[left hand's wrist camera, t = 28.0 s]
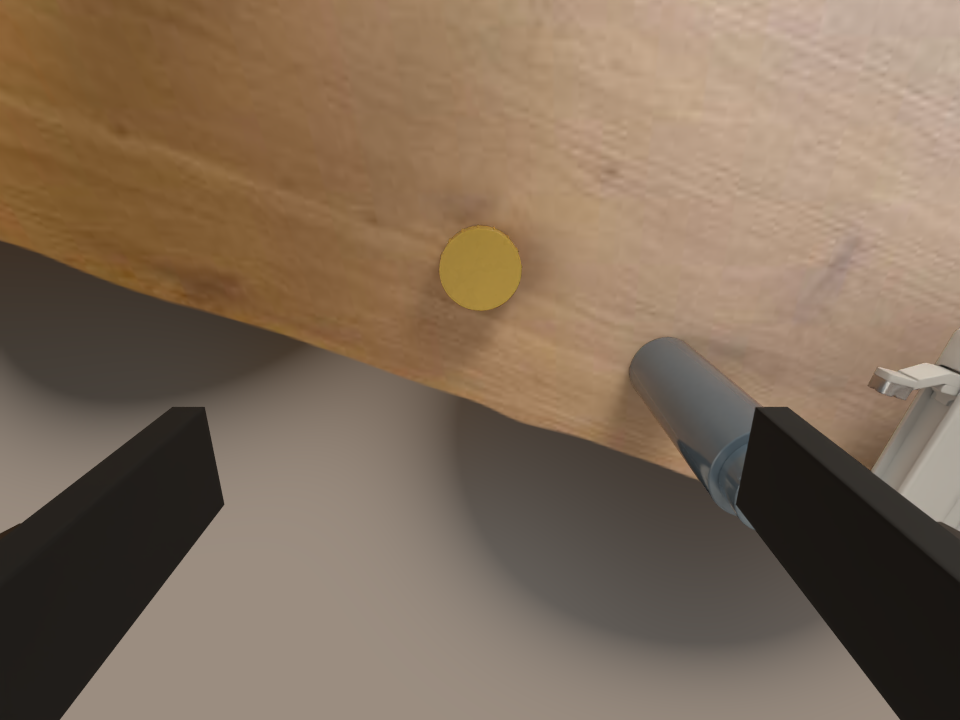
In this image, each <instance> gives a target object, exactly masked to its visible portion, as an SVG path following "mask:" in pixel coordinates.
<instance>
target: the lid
mask: <svg viewBox="0 0 960 720" xmlns="http://www.w3.org/2000/svg"><path fill="white" fill-rule="evenodd" d="M518 252H519V251H518V249H517V248H515V246H514V244H513V243H512V241H511V240H510V239H509V237H508V235H505V234H504V233H502V232H501V231H499V230H497V229H495V227H493V228H492V227H488V226H479V225H477V226H472V227H469V228H466V229H462V230H461V231H460V232H458V233H457V234H456V235H454V236H453V237H452V238H450V239H449V241H448V244H447V245H446V247H445V249H444V251H443V252H442V254H441V256H440V257H441V260H440V265H439V274H440V279H441V283H442V286H443V288H444V290H445V291H446V293H447V294H448V296H449V297H450V298H451V299H452V300H453V301H455V302H456V303H457V304H459V305H460V306H462V307H465V308H467V309H471V310H478V311H483V310H490V309H493V308H496V307H498V306H500V305H502V304H503V303H505V302H506V301H507V300H509V298H510V297H511V296H512V295H513V294H514V292H515V291H516V289H517V287H518V285H519V283H520V278H521V268H522V265H521V261H520V257H519V254H518Z"/></svg>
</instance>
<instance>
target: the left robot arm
mask: <svg viewBox="0 0 960 720" xmlns="http://www.w3.org/2000/svg"><path fill="white" fill-rule="evenodd" d="M223 505H224V500H223V496H222V491H221V486H220V481H219V476H218V471H217V466H216V461H215V456H214V451H213V446H212V441H211V436H210V431H209V426H208V421H207V417H206V411H205V407H172V408H171V409H169V410H168V411H167V412H165V413H164V414H163V415H161V416H160V417H159V418H158V419H156V420H155V421H154V422H152V423H151V424H150V425H149V426H147V427H146V428H145V429H143V430H142V431H141V432H139V433H138V434H137V435H136V436H134V437H133V438H132V439H130V440H129V441H128V442H126V443H125V444H124V445H123V446H121V447H120V448H119V449H117V450H116V451H115V452H113V453H112V454H111V455H110V456H108V457H107V458H106V459H104V460H103V461H102V462H100V463H99V464H98V465H97V466H95V467H94V468H93V469H91V470H90V471H89V472H88V473H86V474H85V475H84V476H82V477H81V478H80V479H78V480H77V481H76V482H75V483H73V484H72V485H71V486H69V487H68V488H67V489H65V490H64V491H63V492H62V493H60V494H59V495H58V496H56V497H55V498H54V499H53V500H51V501H50V502H49V503H47V504H46V505H45V506H43V507H42V508H41V509H40V510H38V511H37V512H36V513H34V514H33V515H32V516H30V517H29V518H28V519H26V520H25V521H24V522H23V523H21V524H18V525H16V526H14V527H12V528H10V529H8V530H6V531H4V532H2V533H0V720H60V719H61V717H62V716H63V715H64V713H65V712H66V711H67V710H68V708H69V707H70V706H71V704H72V703H73V702H74V700H75V699H76V698H77V696H78V695H79V694H80V693H81V691H82V690H83V689H84V687H85V686H86V685H87V683H88V682H89V681H90V679H91V678H92V677H93V676H94V674H95V673H96V672H97V670H98V669H99V668H100V666H101V665H102V664H103V662H104V661H105V660H106V658H107V657H108V656H109V655H110V653H111V652H112V651H113V649H114V648H115V647H116V645H117V644H118V643H119V642H120V640H121V639H122V638H123V636H124V635H125V634H126V632H127V631H128V630H129V628H130V627H131V626H132V625H133V623H134V622H135V621H136V619H137V618H138V617H139V615H140V614H141V613H142V611H143V610H144V609H145V607H146V606H147V605H148V604H149V602H150V601H151V600H152V598H153V597H154V596H155V594H156V593H157V592H158V591H159V589H160V588H161V587H162V585H163V584H164V583H165V581H166V580H167V579H168V577H169V576H170V575H171V574H172V572H173V571H174V570H175V568H176V567H177V566H178V564H179V563H180V562H181V560H182V559H183V558H184V557H185V555H186V554H187V553H188V551H189V550H190V549H191V547H192V546H193V545H194V543H195V542H196V541H197V540H198V538H199V537H200V536H201V534H202V533H203V532H204V530H205V529H206V528H207V526H208V525H209V524H210V523H211V521H212V520H213V519H214V517H215V516H216V515H217V513H218V512H219V511H220V509H221V508H222V507H223ZM736 506H737V507H738V508H739V509H740V511H741V512H742V513H743V515H744V516H745V517H746V519H747V520H748V521H749V523H750V524H751V525H752V526H753V528H754V529H755V530H756V532H757V533H758V534H759V536H760V537H761V538H762V540H763V541H764V542H765V543H766V545H767V546H768V547H769V549H770V550H771V551H772V553H773V554H774V555H775V557H776V558H777V559H778V560H779V562H780V563H781V564H782V566H783V567H784V568H785V570H786V571H787V572H788V574H789V575H790V576H791V577H792V579H793V580H794V581H795V583H796V584H797V585H798V587H799V588H800V589H801V591H802V592H803V593H804V594H805V596H806V597H807V598H808V600H809V601H810V602H811V604H812V605H813V606H814V607H815V609H816V610H817V611H818V613H819V614H820V615H821V617H822V618H823V619H824V621H825V622H826V623H827V625H828V626H829V627H830V628H831V630H832V631H833V632H834V634H835V635H836V636H837V638H838V639H839V640H840V642H841V643H842V644H843V645H844V647H845V648H846V649H847V651H848V652H849V653H850V655H851V656H852V657H853V659H854V660H855V661H856V662H857V664H858V665H859V666H860V668H861V669H862V670H863V672H864V673H865V674H866V676H867V677H868V678H869V679H870V681H871V682H872V683H873V685H874V686H875V687H876V689H877V690H878V691H879V693H880V694H881V695H882V696H883V698H884V699H885V700H886V702H887V703H888V704H889V706H890V707H891V708H892V710H893V711H894V712H895V713H896V715H897V716H898V717H899V719H900V720H960V531H958V530H956V529H954V528H953V527H951V526H949V525H947V524H945V523H943V522H936V521H935V520H934V519H932V518H931V517H930V516H928V515H927V514H926V513H924V512H923V511H922V510H921V509H919V508H918V507H917V506H915V505H914V504H913V503H911V502H910V501H909V500H908V499H906V498H905V497H904V496H902V495H901V494H900V493H898V492H897V491H896V490H895V489H893V488H892V487H891V486H889V485H888V484H887V483H885V482H884V481H883V480H882V479H880V478H879V477H878V476H876V475H875V474H874V473H873V472H871V471H870V470H869V469H867V468H866V467H865V466H863V465H862V464H861V463H860V462H858V461H857V460H856V459H854V458H853V457H852V456H850V455H849V454H848V453H847V452H845V451H844V450H843V449H841V448H840V447H839V446H837V445H836V444H835V443H834V442H832V441H831V440H830V439H828V438H827V437H826V436H824V435H823V434H822V433H821V432H819V431H818V430H817V429H815V428H814V427H813V426H812V425H810V424H809V423H808V422H806V421H805V420H804V419H802V418H801V417H800V416H799V415H797V414H796V413H795V412H793V411H792V410H791V409H789V408H788V407H755V411H754V416H753V421H752V426H751V431H750V436H749V441H748V446H747V451H746V456H745V461H744V466H743V471H742V476H741V481H740V486H739V491H738V496H737V500H736Z"/></svg>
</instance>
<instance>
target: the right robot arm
mask: <svg viewBox="0 0 960 720" xmlns="http://www.w3.org/2000/svg"><path fill="white" fill-rule="evenodd" d="M868 386H869V387H870V388H873V389H875V390H876V391H877V392H879V393H882V394H884V395H887V396H894V397H896V398H899V399H903V400H906V399H907V397H908V396H909V394H910V393H911V391H912V390H916V389H920V390H919V392H918V393H917V395H916V397H915V398H914V400H913V401H912V403H911V405H910V406H909V408H908V410H907V411H906V413H905V415H904V416H903V418H902V420H901V421H900V423H899V425H898V426H897V428H896V430H895V431H894V433H893V435H892V436H891V438H890V440H889V441H888V443H887V445H886V446H885V448H884V450H883V451H882V453H881V455H880V456H879V458H878V460H877V461H876V463H875V465H874V466H873V468H872V470H871V472H873V473H874V474H875V475H876V476H878V477H879V478H880V479H882V480H883V481H884V482H885V483H887V484H888V485H889V486H891V487H892V488H893V489H895V490H896V491H897V492H898V493H900V494H901V495H902V496H904V497H905V498H906V499H908V500H909V501H910V502H911V503H913V504H914V505H915V506H917V507H918V508H919V509H921V510H922V511H923V512H924V513H926V514H927V515H928V516H930V517H931V518H932V519H934V520H935V521H936V522H943V523H945V524H947V525H949V526H951V527H953V528H954V529H956V530H958V531H960V328H959V329H957V330H956V331H955V332H954V333H953V335H952V337H951V338H950V340H949V342H948V343H947V345H946V347H945V348H944V350H943V352H942V353H941V355H940V357H939V358H938V360H937V362H936V363H935V365H933V364H929V363H922V364H919V365H915V366H911V367H908V368H904V369H901V370H898V372H897V371H893V370H889V369H885V368H881V367H877V369H876V371H875V372H874V374H873V376H872V378H871V380H870V382H869V384H868Z"/></svg>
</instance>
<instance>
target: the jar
mask: <svg viewBox="0 0 960 720" xmlns="http://www.w3.org/2000/svg"><path fill="white" fill-rule="evenodd" d="M630 380H631V383H632V385H633V387H634V389H635V390H636V392H637V393H638V394H639V396H640V397H641V399H642V400H643V401H644V403H645V404H646V406H647V407H648V409H649V410H650V411H651V413H652V414H653V416H654V417H655V418H656V420H657V421H658V423H659V424H660V425H661V427H662V428H663V430H664V431H665V433H666V434H667V435H668V437H669V438H670V440H671V441H672V442H673V444H674V445H675V447H676V448H677V450H678V451H679V452H680V454H681V455H682V457H683V458H684V459H685V461H686V462H687V464H688V465H689V467H690V468H691V469H692V471H693V472H694V474H695V475H696V476H697V478H698V479H699V481H700V482H701V483H702V485H703V486H704V488H705V489H706V491H707V492H708V493H709V495H710V496H711V498H712V499H713V500H714V502H715V503H716V504H717V505H718V506H719V507H720V508H721V509H723V510H724V511H726V512H728V513H730V514H732V515H735V516H738V518H739V519H740V520H741V521H742V523H744V524H745V525H746V526H748V527H749V528H751V529H753V530H755V529H754V528H753V526H752V525H751V524H750V523H749V521H748V520H747V519H746V517H745V516H744V515H743V513H742V512H741V511H740V509H739V508H738V507H737V506H736V500H737V496H738V491H739V486H740V481H741V476H742V471H743V466H744V461H745V456H746V451H747V446H748V441H749V436H750V431H751V426H752V421H753V416H754V411H755V407H763V406H762V405H761V404H759V403H758V402H757V401H756V400H755V399H753V398H752V397H751V396H750V395H749V394H747V393H746V392H745V391H744V390H743V389H741V388H740V387H739V386H738V385H737V384H735V383H734V382H733V381H732V380H731V379H729V378H728V377H727V376H726V375H725V374H723V373H722V372H721V371H720V370H719V369H717V368H716V367H715V366H714V365H713V364H711V363H710V362H709V361H708V360H707V359H705V358H704V357H703V356H702V355H701V354H699V353H698V352H697V351H696V350H695V349H693V348H692V347H691V346H690V345H689V344H687V343H686V342H684V341H682V340H680V339H677V338H672V337H664V338H659V339H655V340H653V341H651V342H649V343H647V344H645V345H644V346H643V347H642V348H641V349H640V350H639V351H638V352H637V353H636V354H635V356H634V358H633V360H632V362H631V365H630ZM755 531H756V530H755Z"/></svg>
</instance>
